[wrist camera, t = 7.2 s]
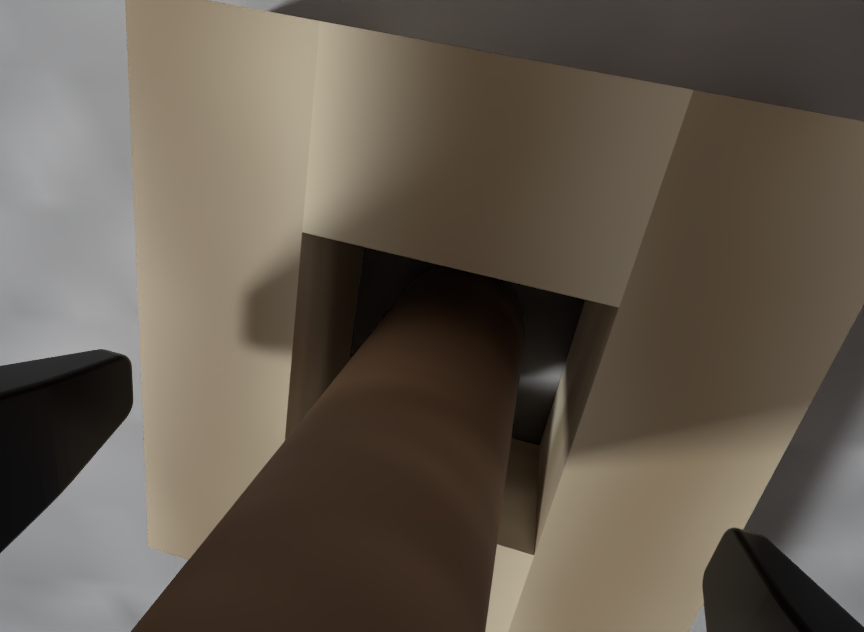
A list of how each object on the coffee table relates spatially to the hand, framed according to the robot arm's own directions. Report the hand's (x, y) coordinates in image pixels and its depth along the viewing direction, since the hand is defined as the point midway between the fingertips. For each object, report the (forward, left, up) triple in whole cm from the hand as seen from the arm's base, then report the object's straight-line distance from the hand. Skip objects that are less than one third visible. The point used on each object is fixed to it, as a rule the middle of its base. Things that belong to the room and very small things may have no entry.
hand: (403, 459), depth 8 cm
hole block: (0, 0, -5) cm, 5 cm away
